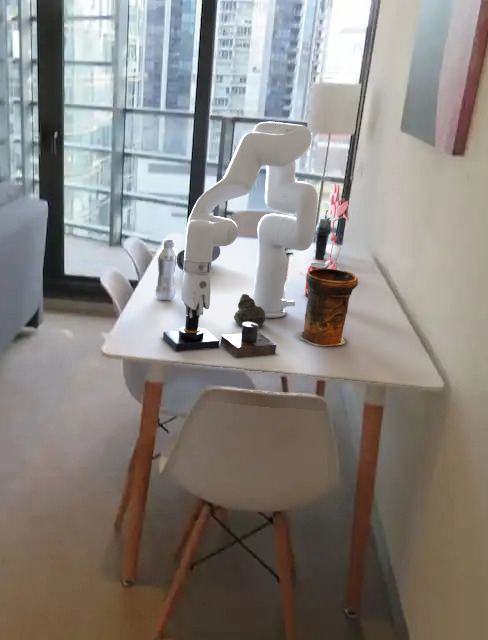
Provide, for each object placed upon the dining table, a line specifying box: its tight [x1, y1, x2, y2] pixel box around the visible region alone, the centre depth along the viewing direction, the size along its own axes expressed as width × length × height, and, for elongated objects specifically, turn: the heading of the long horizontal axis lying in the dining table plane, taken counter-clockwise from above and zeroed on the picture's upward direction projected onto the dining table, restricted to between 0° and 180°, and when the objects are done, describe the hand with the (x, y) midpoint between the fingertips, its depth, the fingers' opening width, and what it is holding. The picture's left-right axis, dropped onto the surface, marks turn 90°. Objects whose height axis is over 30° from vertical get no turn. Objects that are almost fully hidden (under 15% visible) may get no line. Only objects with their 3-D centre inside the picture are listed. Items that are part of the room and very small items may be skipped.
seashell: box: [233, 293, 266, 328], centre depth 220 cm, size 11×12×10 cm
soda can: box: [303, 262, 329, 300], centre depth 249 cm, size 7×7×12 cm
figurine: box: [300, 183, 350, 276], centre depth 275 cm, size 15×26×35 cm, turn 174°
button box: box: [162, 326, 220, 352], centre depth 204 cm, size 13×10×4 cm
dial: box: [240, 322, 260, 342], centre depth 200 cm, size 4×4×5 cm
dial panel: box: [220, 332, 277, 359], centre depth 201 cm, size 12×10×3 cm
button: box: [185, 329, 199, 333], centre depth 203 cm, size 4×4×2 cm
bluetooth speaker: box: [176, 246, 221, 271], centre depth 280 cm, size 23×9×10 cm, turn 148°
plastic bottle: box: [155, 239, 178, 301], centre depth 239 cm, size 6×7×20 cm
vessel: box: [296, 267, 359, 347], centre depth 208 cm, size 14×14×20 cm
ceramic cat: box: [313, 209, 332, 261], centre depth 308 cm, size 20×6×20 cm, turn 164°
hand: (191, 329), depth 203 cm, fingers closed
